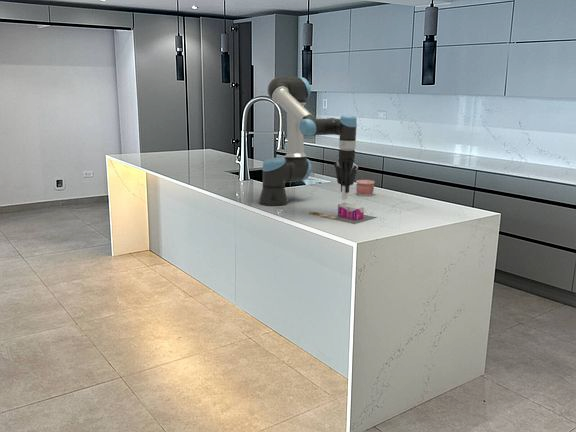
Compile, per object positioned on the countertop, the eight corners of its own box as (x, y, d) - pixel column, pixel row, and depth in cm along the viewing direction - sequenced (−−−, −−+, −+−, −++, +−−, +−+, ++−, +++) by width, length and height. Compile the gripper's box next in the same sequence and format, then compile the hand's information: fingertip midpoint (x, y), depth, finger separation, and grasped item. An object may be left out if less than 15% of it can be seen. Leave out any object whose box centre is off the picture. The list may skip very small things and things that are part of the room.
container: (363, 197, 312) (364, 183, 310) (351, 194, 321) (352, 180, 319) (377, 195, 318) (378, 181, 316) (365, 192, 326) (366, 179, 324)
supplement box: (337, 204, 262) (356, 208, 254) (345, 202, 266) (364, 206, 259) (337, 216, 264) (356, 220, 256) (344, 214, 268) (364, 218, 260)
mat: (331, 219, 259) (331, 218, 258) (354, 213, 272) (354, 212, 272) (354, 224, 250) (354, 223, 250) (376, 218, 263) (376, 217, 263)
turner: (307, 214, 268) (307, 211, 268) (311, 213, 270) (311, 211, 270) (333, 219, 258) (333, 216, 258) (337, 218, 260) (337, 215, 260)
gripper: (330, 148, 259) (328, 198, 265) (353, 151, 251) (351, 202, 256) (340, 147, 264) (338, 196, 270) (363, 150, 256) (360, 200, 262)
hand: (344, 199), depth 263 cm, fingers closed
